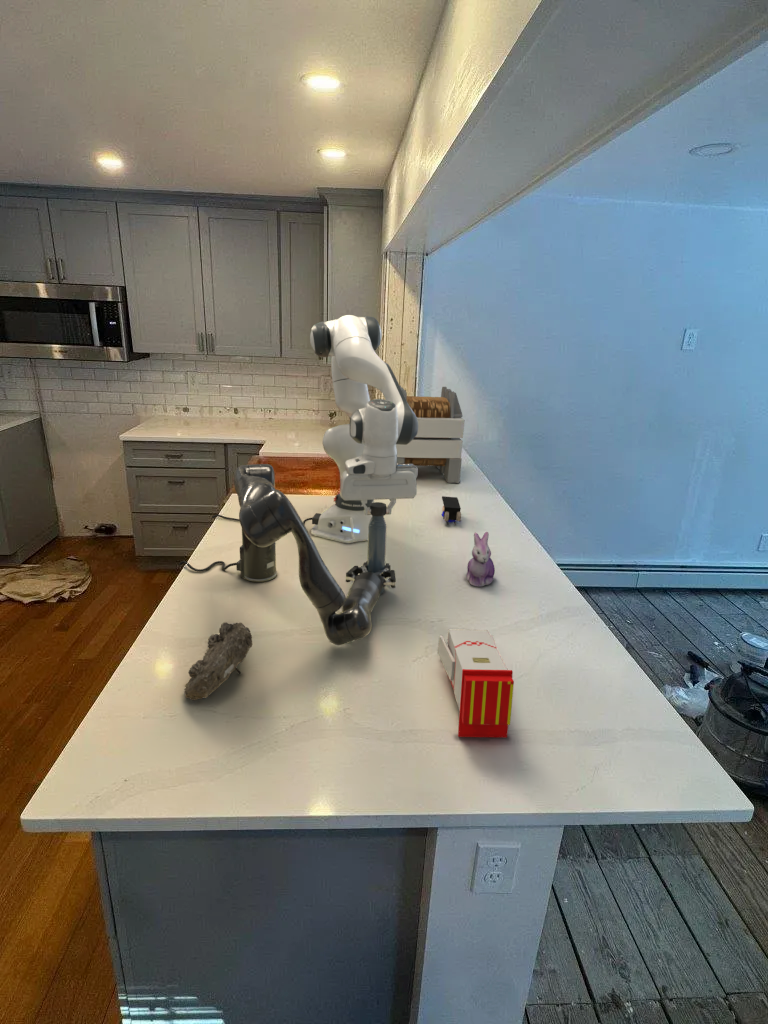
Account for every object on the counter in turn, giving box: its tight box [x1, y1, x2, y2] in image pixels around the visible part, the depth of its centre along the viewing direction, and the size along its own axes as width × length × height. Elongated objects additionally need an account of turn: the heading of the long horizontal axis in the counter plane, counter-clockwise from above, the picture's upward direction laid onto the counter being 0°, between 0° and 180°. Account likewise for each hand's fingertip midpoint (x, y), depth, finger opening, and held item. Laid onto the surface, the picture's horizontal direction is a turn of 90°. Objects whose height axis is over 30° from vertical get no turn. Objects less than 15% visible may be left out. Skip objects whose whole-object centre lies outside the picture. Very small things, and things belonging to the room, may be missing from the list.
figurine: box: [466, 531, 496, 587], centre depth 165 cm, size 9×10×15 cm
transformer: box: [396, 384, 465, 484], centre depth 268 cm, size 34×33×41 cm
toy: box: [437, 628, 515, 738], centre depth 117 cm, size 12×13×30 cm
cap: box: [370, 501, 387, 517], centre depth 151 cm, size 4×4×2 cm
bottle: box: [366, 515, 388, 595], centre depth 155 cm, size 5×5×25 cm
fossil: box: [183, 622, 253, 701], centre depth 120 cm, size 22×10×15 cm
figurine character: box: [441, 495, 462, 526], centre depth 214 cm, size 7×8×15 cm
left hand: (377, 565), depth 159 cm, fingers closed on bottle, 5 cm apart
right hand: (377, 514), depth 151 cm, fingers closed on cap, 4 cm apart
